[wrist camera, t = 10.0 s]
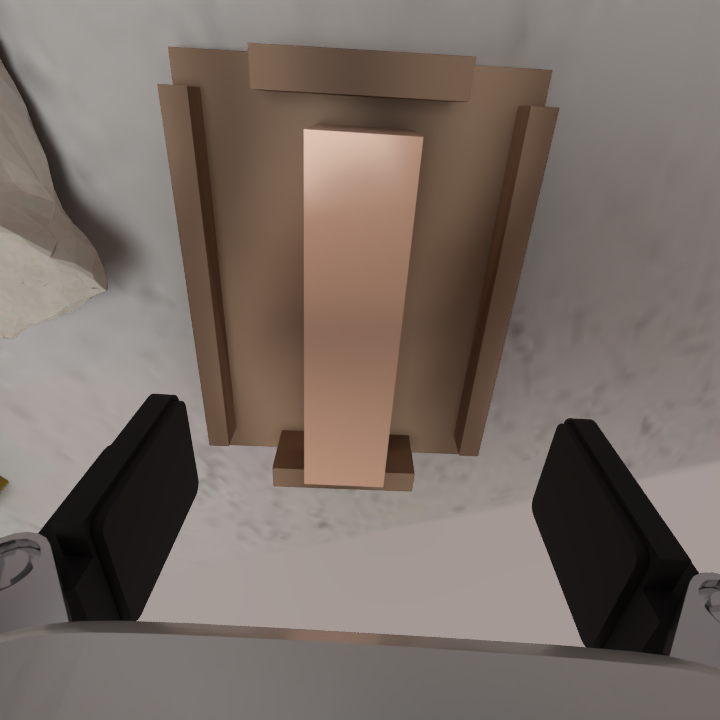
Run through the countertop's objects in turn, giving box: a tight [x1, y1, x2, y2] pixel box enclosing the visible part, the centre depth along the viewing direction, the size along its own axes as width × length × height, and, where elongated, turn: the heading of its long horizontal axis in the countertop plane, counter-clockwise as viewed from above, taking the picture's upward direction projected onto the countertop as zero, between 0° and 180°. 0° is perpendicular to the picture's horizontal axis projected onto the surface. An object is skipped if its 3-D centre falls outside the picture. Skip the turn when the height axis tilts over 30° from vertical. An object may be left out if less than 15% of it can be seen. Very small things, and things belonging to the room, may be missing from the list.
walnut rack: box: [157, 43, 559, 491], centre depth 20 cm, size 14×18×4 cm
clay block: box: [304, 123, 423, 487], centre depth 19 cm, size 4×14×5 cm, turn 176°
